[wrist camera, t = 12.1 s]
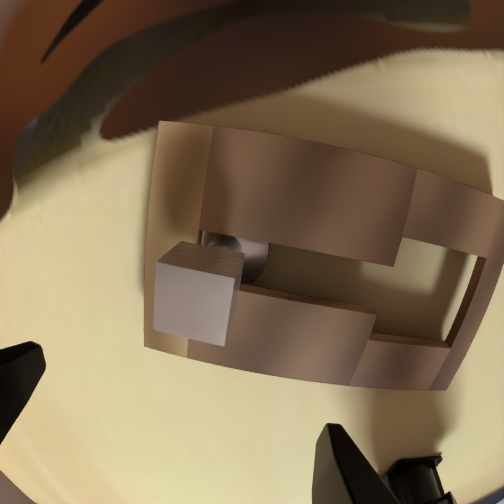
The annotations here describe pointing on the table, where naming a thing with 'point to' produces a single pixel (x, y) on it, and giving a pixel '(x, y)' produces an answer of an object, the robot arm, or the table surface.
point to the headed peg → (204, 285)
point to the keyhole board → (316, 250)
